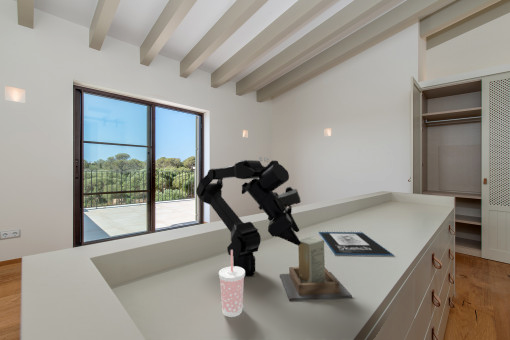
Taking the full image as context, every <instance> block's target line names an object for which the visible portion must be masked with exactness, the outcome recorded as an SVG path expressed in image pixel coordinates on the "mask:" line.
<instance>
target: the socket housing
mask: <svg viewBox="0 0 510 340" xmlns="http://www.w3.org/2000/svg"><path fill="white" fill-rule="evenodd" d="M288 269H289V270H288V271H289V273H280V274H279V278H280V280H281V282H282V286H283V288H284V291H285V294H286V296H287V298H288V302H294V301H311V300H312V301H314V300H316V301H317V300H330V299H331V300H332V299H349V298H350V299H351V298H353V295H352V294H351V292H350V291H349V290H348V289H347V288H346V287H345V286H344V285H343V284H342V283H341V281H340V280H339V279H337V277H336V276H335V275H334V274H333V273H332V272H331V271H329V270H328V269H327V268H326V267H325V282H316V283H301V281H300V280H299V266H289V268H288Z"/></svg>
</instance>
